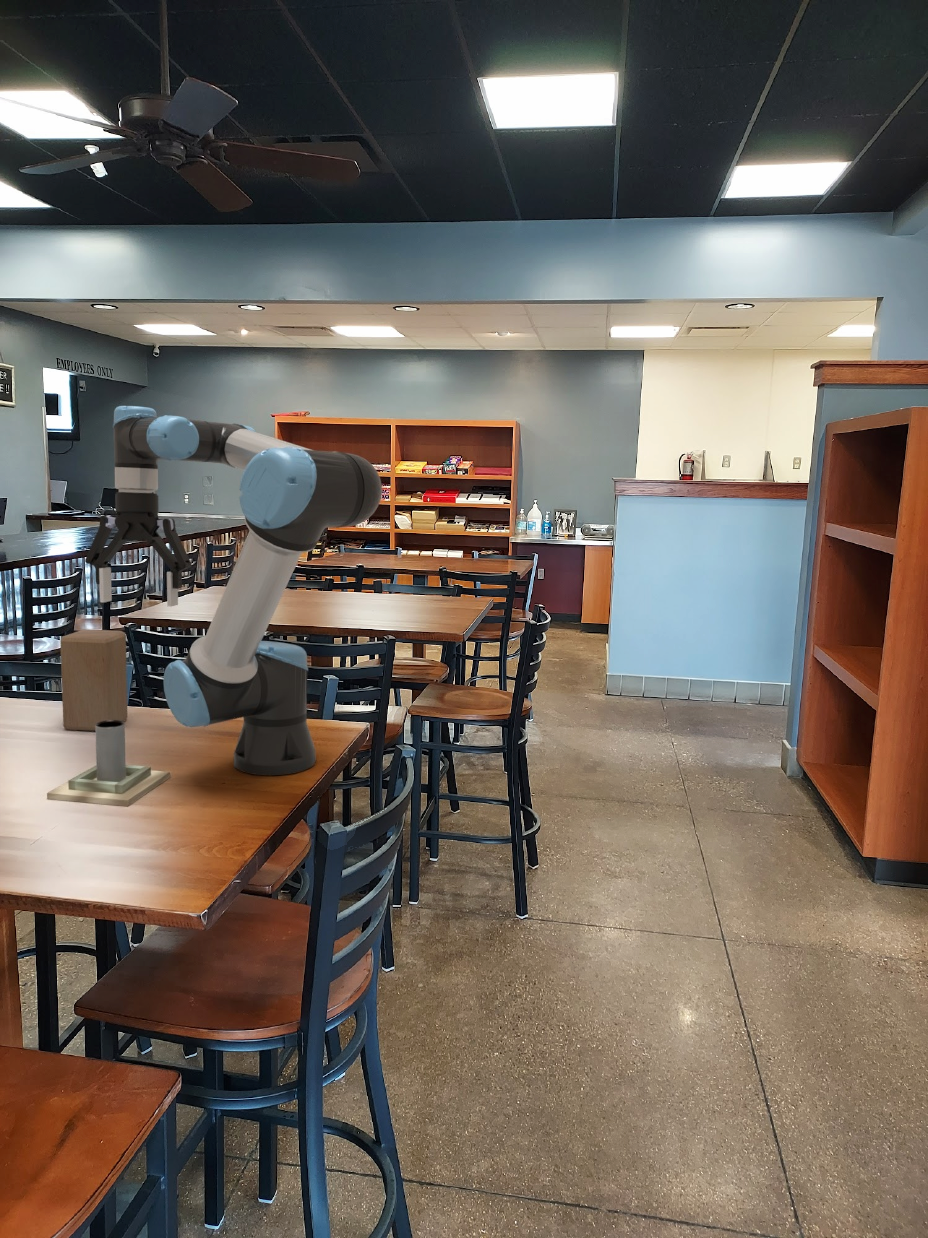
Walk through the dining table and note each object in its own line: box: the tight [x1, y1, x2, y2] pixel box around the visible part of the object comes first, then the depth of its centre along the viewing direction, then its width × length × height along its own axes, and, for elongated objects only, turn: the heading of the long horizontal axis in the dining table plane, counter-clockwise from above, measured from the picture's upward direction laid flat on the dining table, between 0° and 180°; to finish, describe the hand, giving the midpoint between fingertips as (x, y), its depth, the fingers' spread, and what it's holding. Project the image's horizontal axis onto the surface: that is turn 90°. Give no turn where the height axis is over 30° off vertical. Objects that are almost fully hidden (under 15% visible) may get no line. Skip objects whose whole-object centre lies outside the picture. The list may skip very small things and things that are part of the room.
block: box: [60, 628, 129, 732], centre depth 172 cm, size 10×10×20 cm
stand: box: [46, 764, 171, 807], centre depth 138 cm, size 14×14×2 cm
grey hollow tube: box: [94, 720, 127, 782], centre depth 138 cm, size 4×4×10 cm
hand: (139, 603), depth 155 cm, fingers open, 13 cm apart
